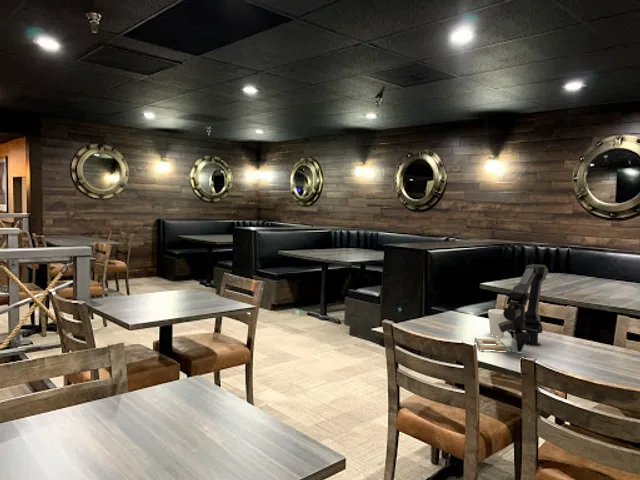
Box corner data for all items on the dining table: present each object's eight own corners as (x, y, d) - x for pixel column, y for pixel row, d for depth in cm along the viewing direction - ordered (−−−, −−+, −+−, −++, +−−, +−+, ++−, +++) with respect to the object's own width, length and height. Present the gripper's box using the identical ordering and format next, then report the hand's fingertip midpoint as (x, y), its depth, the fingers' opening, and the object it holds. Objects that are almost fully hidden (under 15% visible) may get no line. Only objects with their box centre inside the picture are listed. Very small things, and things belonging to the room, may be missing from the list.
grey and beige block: (510, 350, 230) (511, 337, 229) (519, 350, 229) (520, 338, 229) (513, 353, 226) (513, 340, 225) (522, 353, 225) (523, 340, 225)
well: (474, 342, 241) (474, 337, 241) (499, 343, 240) (499, 338, 240) (480, 351, 228) (480, 346, 227) (506, 352, 226) (506, 347, 226)
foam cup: (510, 337, 251) (511, 312, 250) (496, 339, 247) (497, 314, 246) (497, 332, 260) (498, 308, 258) (483, 334, 256) (484, 310, 255)
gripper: (495, 311, 236) (494, 342, 238) (505, 320, 218) (503, 354, 219) (519, 311, 235) (518, 343, 236) (531, 321, 216) (529, 355, 218)
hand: (516, 349), depth 227 cm, fingers open, 7 cm apart
